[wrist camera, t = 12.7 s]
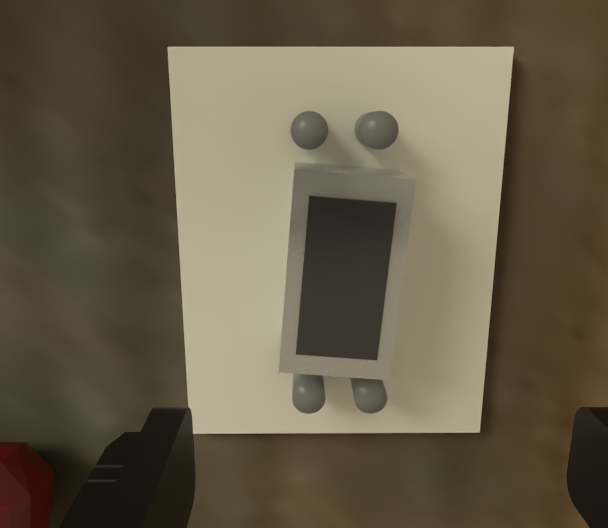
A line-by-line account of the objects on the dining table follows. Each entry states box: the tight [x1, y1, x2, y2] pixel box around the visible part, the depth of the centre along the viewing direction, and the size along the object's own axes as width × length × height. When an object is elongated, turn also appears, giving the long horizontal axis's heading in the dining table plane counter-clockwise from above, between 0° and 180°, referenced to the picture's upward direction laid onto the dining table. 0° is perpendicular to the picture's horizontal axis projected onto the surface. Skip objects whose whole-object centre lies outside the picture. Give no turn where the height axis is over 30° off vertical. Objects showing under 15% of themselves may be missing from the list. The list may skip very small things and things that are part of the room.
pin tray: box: [168, 47, 514, 434], centre depth 27 cm, size 16×20×4 cm
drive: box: [279, 161, 416, 380], centre depth 26 cm, size 5×9×5 cm, turn 175°
